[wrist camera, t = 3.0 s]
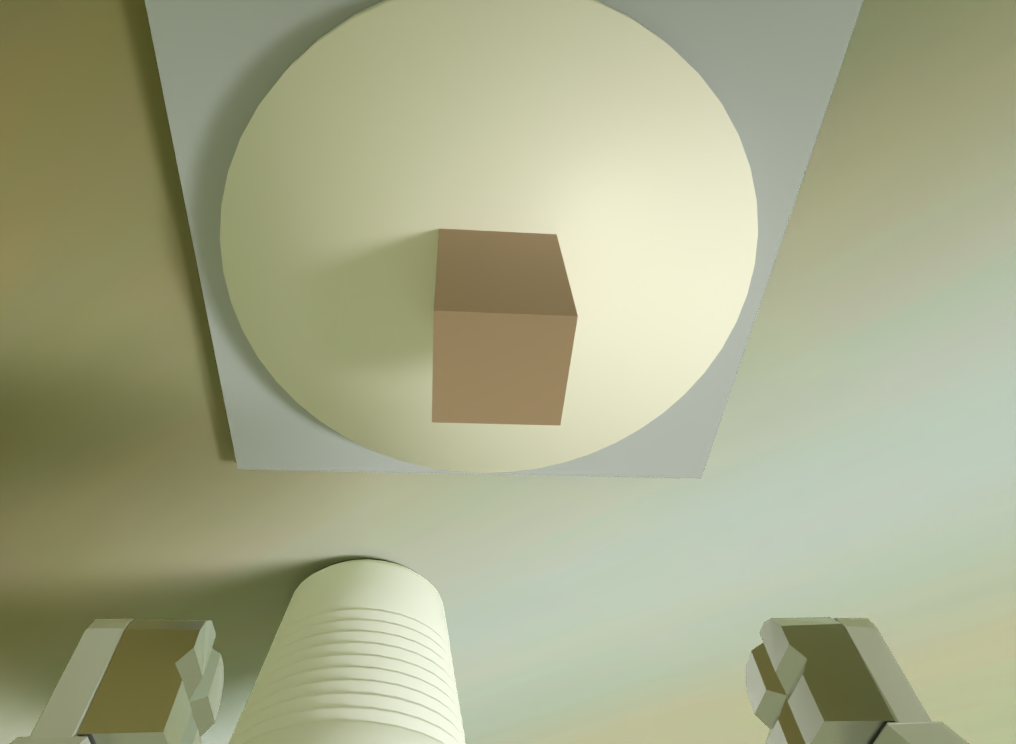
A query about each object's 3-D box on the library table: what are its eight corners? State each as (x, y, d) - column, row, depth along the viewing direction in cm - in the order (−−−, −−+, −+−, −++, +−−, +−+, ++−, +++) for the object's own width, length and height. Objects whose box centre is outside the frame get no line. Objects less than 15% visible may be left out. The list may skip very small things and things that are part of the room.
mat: (133, -114, 14) (122, -113, 14) (864, -44, 16) (877, -41, 15) (242, 457, 24) (237, 469, 23) (696, 466, 25) (701, 478, 25)
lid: (182, -48, 15) (75, -15, 10) (818, 4, 16) (941, 51, 12) (266, 447, 23) (224, 573, 19) (681, 456, 24) (725, 575, 20)
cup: (338, 690, 32) (292, 1000, 24) (190, 574, 27) (59, 919, 18) (528, 625, 30) (556, 939, 21) (409, 484, 25) (381, 826, 16)
